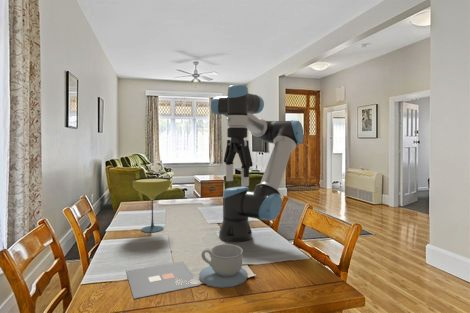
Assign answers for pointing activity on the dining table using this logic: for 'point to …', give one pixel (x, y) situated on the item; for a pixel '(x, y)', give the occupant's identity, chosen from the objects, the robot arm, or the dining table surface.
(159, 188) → the cocktail glass
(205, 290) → the dining table surface
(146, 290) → the card
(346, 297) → the dining table surface
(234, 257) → the teacup
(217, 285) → the coaster
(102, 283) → the dining table surface
